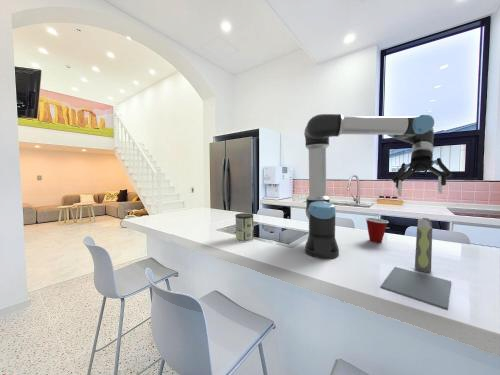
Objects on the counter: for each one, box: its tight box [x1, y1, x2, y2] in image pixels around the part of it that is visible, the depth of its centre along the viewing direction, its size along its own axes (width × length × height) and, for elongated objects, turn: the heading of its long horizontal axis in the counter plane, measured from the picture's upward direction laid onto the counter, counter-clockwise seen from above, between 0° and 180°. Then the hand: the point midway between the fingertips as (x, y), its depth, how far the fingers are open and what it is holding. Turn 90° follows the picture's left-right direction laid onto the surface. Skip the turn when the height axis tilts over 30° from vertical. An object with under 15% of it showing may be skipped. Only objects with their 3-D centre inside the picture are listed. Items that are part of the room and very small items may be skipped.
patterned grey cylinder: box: [414, 217, 433, 273], centre depth 80 cm, size 5×5×20 cm
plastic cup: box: [365, 217, 389, 243], centre depth 115 cm, size 11×11×12 cm
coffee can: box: [234, 212, 254, 242], centre depth 121 cm, size 10×10×14 cm
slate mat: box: [380, 266, 452, 310], centre depth 70 cm, size 20×16×1 cm
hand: (418, 193), depth 88 cm, fingers open, 13 cm apart
